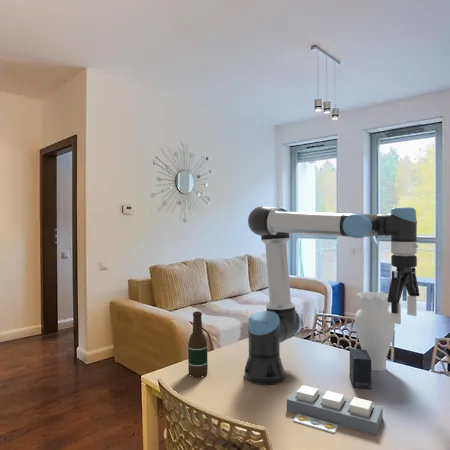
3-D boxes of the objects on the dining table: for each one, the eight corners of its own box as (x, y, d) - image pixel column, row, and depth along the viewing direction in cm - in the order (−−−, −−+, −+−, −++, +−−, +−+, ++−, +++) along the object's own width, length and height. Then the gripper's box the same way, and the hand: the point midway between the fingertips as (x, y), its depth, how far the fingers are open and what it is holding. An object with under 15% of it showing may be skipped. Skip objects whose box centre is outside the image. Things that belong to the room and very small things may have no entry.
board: (286, 410, 113) (286, 399, 113) (298, 397, 121) (298, 386, 121) (376, 435, 99) (376, 422, 99) (382, 418, 107) (382, 406, 107)
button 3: (349, 412, 105) (349, 404, 105) (353, 405, 109) (353, 397, 109) (368, 417, 102) (368, 409, 102) (372, 409, 106) (372, 401, 106)
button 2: (322, 405, 109) (322, 397, 109) (327, 398, 114) (327, 390, 114) (339, 410, 106) (339, 402, 106) (344, 402, 111) (344, 394, 111)
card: (293, 421, 107) (293, 419, 107) (298, 415, 110) (298, 413, 110) (334, 433, 100) (334, 431, 100) (338, 426, 103) (338, 424, 103)
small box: (372, 389, 126) (372, 359, 126) (352, 388, 127) (352, 358, 127) (367, 376, 136) (366, 348, 136) (348, 375, 138) (348, 347, 138)
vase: (375, 377, 135) (374, 299, 135) (347, 363, 149) (346, 292, 149) (404, 370, 141) (403, 295, 141) (374, 358, 155) (373, 289, 154)
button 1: (296, 399, 113) (296, 391, 113) (302, 392, 118) (302, 385, 118) (313, 403, 111) (313, 395, 111) (318, 396, 115) (318, 388, 115)
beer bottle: (184, 376, 139) (183, 313, 139) (193, 368, 146) (192, 309, 146) (202, 379, 136) (202, 315, 136) (211, 371, 143) (210, 310, 143)
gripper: (400, 258, 108) (401, 329, 108) (429, 252, 125) (429, 314, 126) (375, 256, 114) (376, 324, 114) (406, 251, 131) (406, 310, 131)
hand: (404, 319), depth 120 cm, fingers open, 13 cm apart
